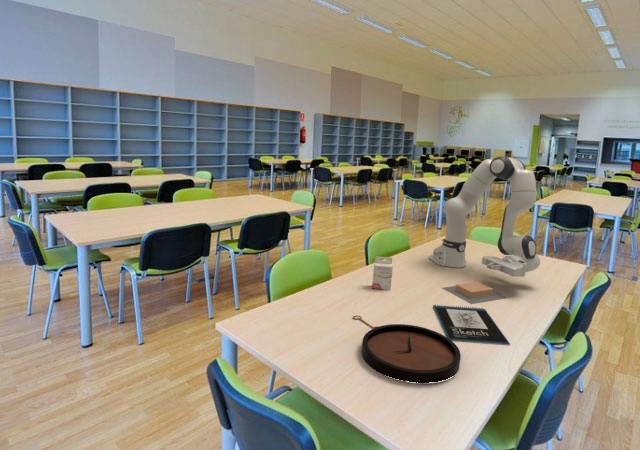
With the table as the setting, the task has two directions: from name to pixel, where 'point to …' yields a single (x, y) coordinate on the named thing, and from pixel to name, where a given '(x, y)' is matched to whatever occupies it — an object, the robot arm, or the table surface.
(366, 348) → the wall clock
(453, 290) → the mat
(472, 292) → the tile
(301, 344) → the table surface
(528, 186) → the robot arm
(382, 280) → the ink cartridge box
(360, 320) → the key
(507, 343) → the sketchbook
